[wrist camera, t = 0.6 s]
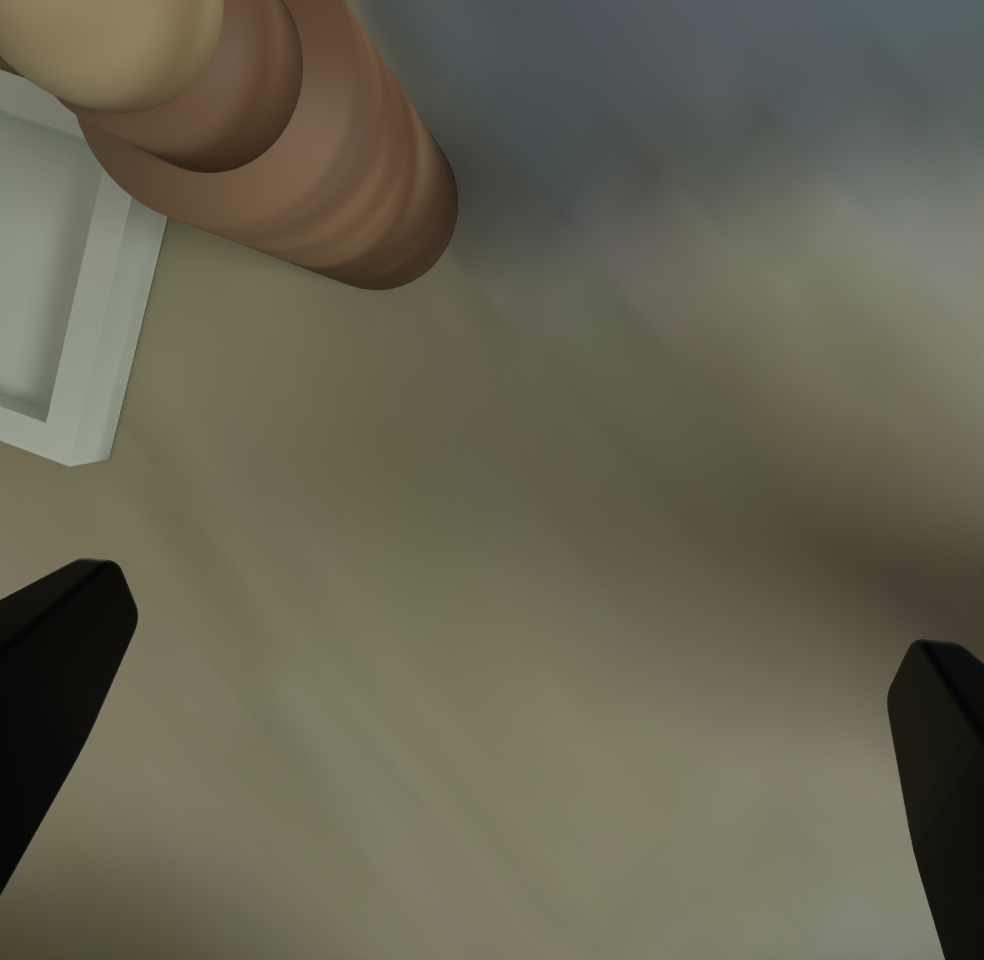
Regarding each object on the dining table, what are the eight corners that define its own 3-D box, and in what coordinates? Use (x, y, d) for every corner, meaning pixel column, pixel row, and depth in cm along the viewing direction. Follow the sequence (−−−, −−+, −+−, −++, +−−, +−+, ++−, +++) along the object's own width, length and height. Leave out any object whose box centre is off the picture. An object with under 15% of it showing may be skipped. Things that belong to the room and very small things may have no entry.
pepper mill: (428, 312, 21) (152, 203, 8) (277, 260, 21) (-241, 69, 8) (480, 145, 20) (273, -308, 7) (322, 94, 21) (-173, -434, 7)
